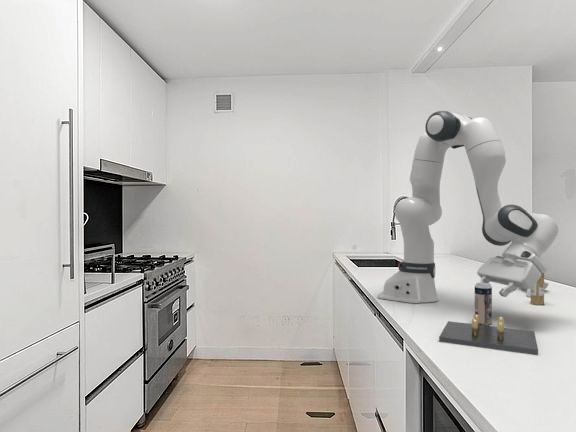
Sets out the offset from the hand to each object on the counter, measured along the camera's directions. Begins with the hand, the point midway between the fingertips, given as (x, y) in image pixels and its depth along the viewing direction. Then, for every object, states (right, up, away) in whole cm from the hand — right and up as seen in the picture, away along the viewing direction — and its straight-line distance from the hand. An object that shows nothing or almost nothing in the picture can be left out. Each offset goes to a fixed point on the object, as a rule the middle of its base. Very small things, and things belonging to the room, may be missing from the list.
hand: (490, 292), depth 128 cm
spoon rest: (+41, -10, +50) cm, 65 cm away
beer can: (-3, -9, 0) cm, 10 cm away
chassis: (-8, -9, -16) cm, 20 cm away
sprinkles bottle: (+30, -9, +28) cm, 42 cm away
